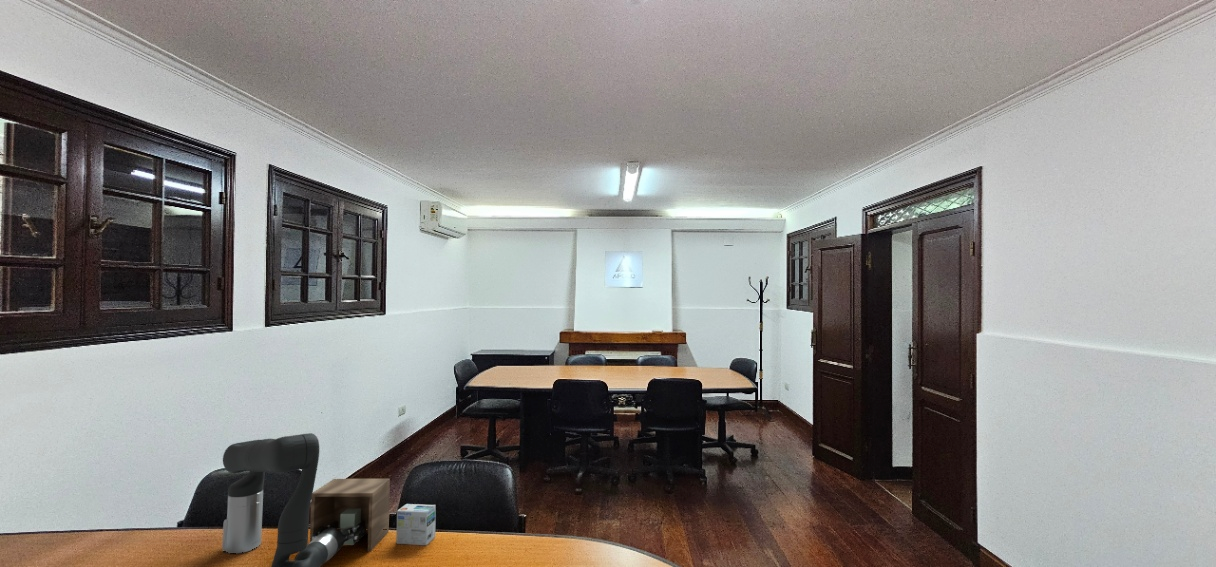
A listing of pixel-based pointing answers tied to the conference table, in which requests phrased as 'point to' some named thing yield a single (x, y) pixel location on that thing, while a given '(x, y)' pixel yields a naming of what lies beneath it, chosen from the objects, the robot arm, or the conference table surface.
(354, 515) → the block
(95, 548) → the conference table surface
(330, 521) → the hutch
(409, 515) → the light bulb box
